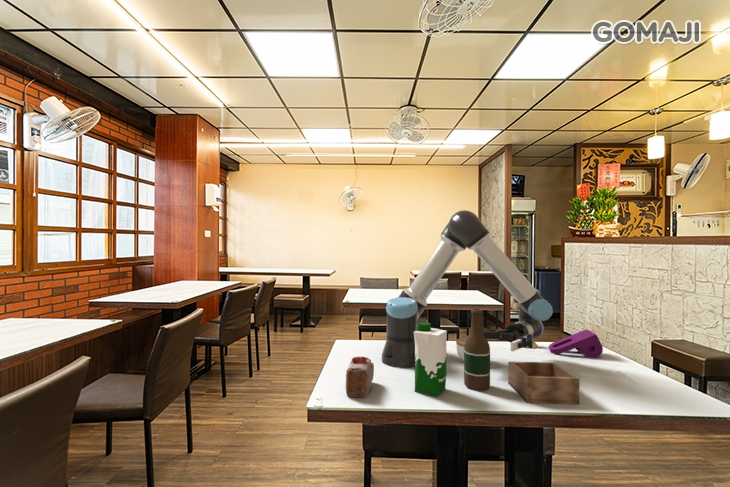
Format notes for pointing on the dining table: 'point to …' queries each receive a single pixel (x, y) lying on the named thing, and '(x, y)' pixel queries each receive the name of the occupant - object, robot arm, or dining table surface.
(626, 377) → the butter knife
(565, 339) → the mounting bracket
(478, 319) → the beer bottle
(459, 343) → the lidded jar
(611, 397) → the dining table surface
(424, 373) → the milk carton
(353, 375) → the food item
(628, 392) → the dining table surface
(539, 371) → the walnut box
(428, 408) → the dining table surface
